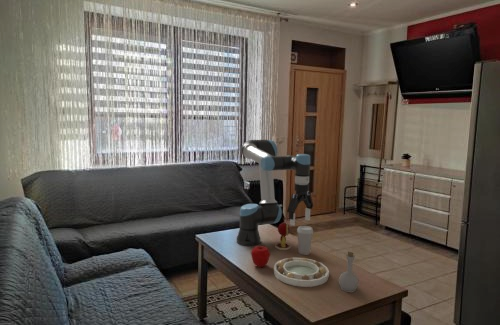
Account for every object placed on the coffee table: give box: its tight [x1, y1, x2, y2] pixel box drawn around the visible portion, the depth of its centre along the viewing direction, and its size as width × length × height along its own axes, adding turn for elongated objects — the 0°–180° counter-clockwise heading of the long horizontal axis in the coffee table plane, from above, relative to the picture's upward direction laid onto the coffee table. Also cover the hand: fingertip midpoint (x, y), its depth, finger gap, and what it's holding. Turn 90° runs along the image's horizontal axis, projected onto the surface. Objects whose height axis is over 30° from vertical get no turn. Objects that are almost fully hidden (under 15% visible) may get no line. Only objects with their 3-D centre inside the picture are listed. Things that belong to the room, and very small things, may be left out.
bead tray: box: [273, 257, 330, 288], centre depth 174 cm, size 27×27×4 cm
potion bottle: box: [338, 251, 359, 293], centre depth 159 cm, size 9×9×18 cm
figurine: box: [274, 222, 292, 251], centre depth 210 cm, size 9×10×15 cm
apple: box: [250, 245, 271, 268], centre depth 182 cm, size 10×10×11 cm
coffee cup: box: [296, 225, 314, 256], centre depth 202 cm, size 10×10×15 cm
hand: (300, 222), depth 186 cm, fingers open, 13 cm apart
